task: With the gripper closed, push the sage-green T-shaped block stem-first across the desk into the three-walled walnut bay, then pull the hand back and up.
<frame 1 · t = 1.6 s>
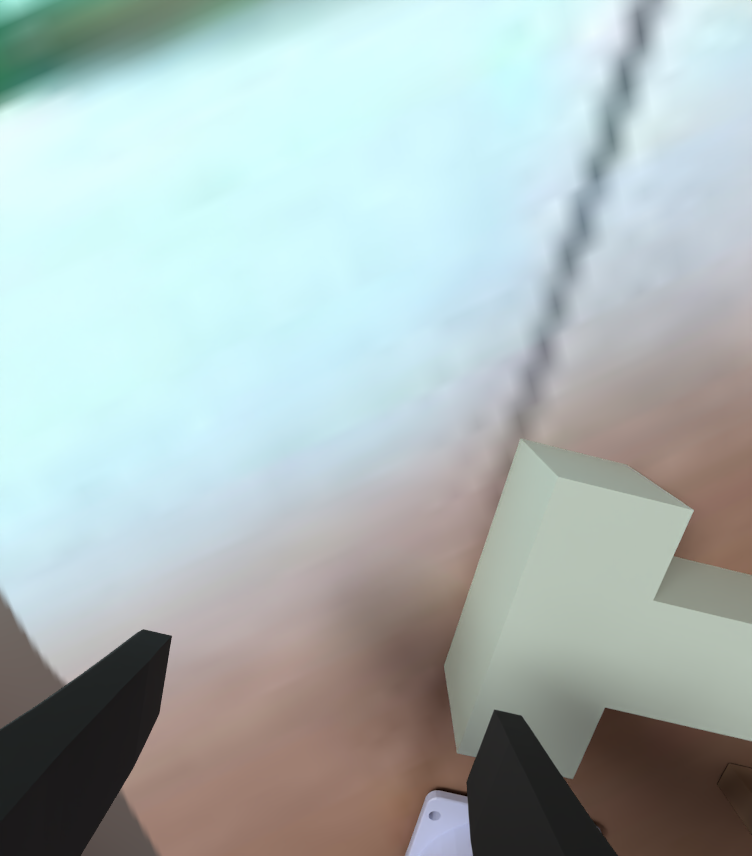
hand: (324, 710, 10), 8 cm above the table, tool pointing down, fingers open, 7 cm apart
t block: (628, 594, 19), on the table
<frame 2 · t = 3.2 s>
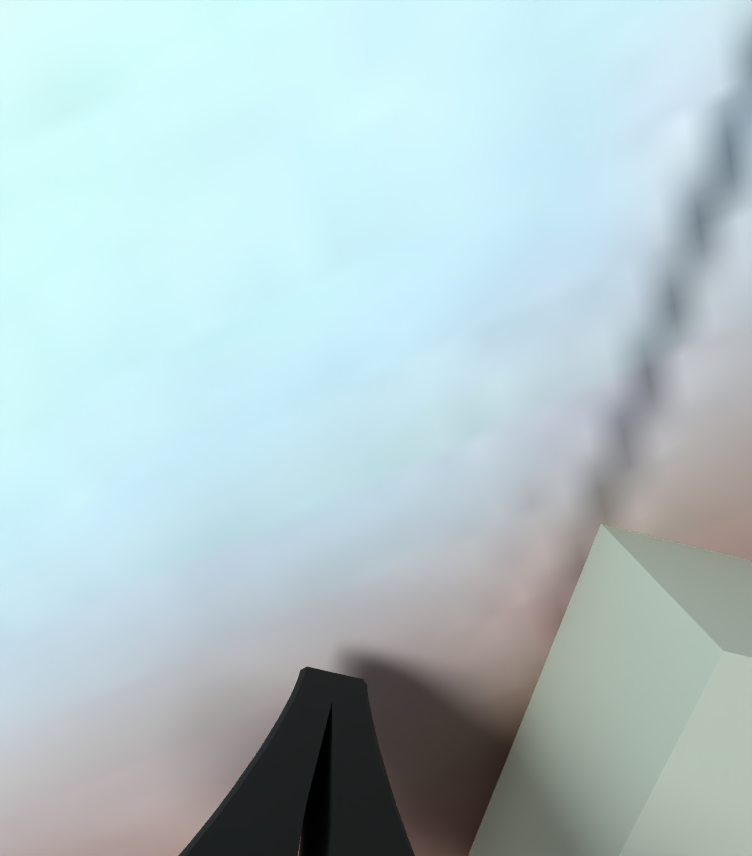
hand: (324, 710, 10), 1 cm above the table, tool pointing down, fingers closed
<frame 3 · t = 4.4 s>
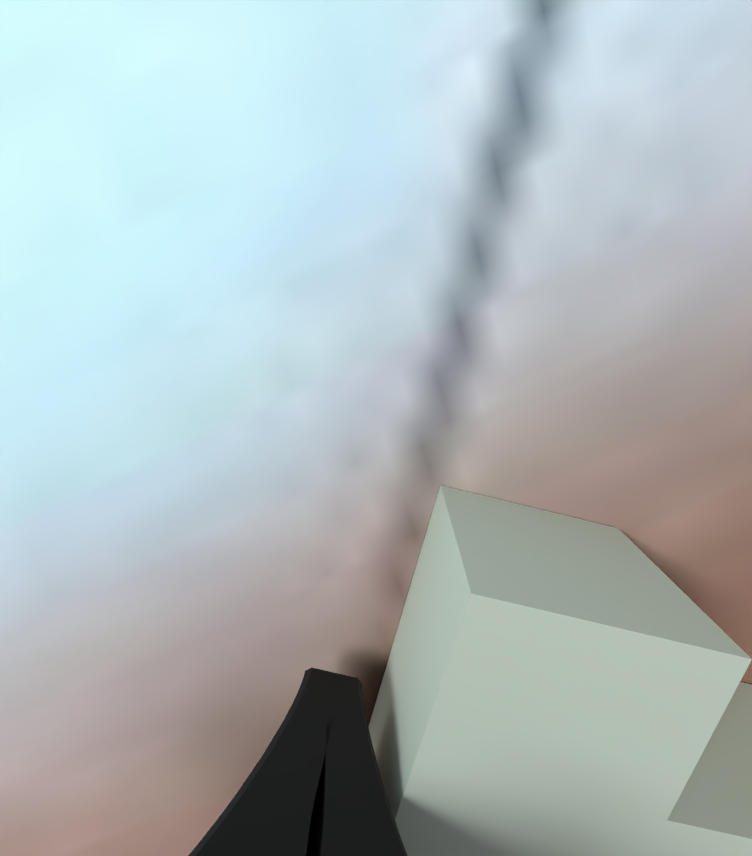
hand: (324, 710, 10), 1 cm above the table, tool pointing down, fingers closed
t block: (621, 728, 12), on the table, touching gripper
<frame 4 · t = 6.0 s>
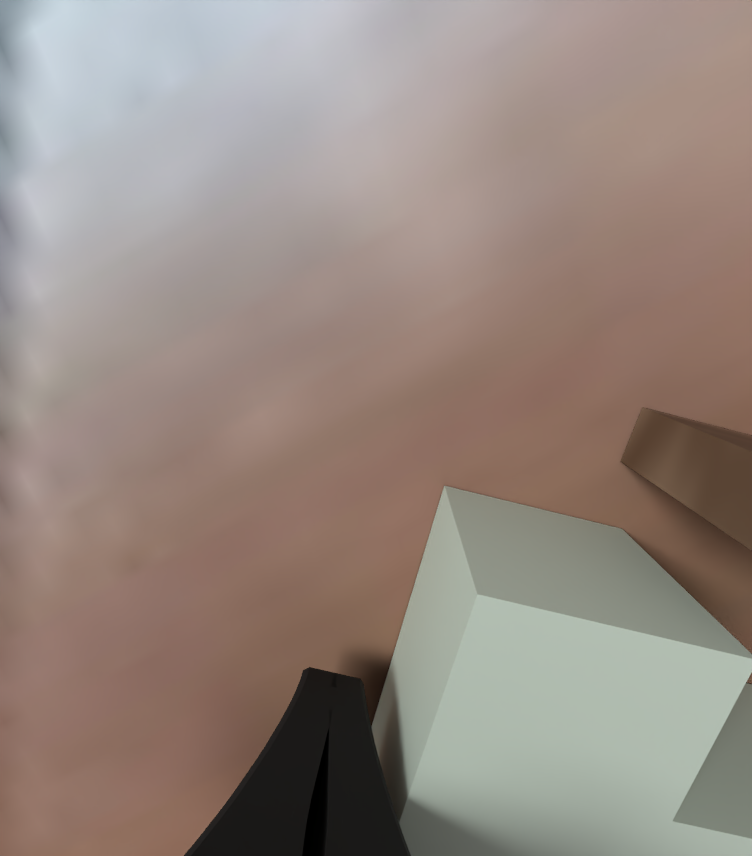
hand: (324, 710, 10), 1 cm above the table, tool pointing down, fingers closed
t block: (624, 728, 12), on the table, touching gripper
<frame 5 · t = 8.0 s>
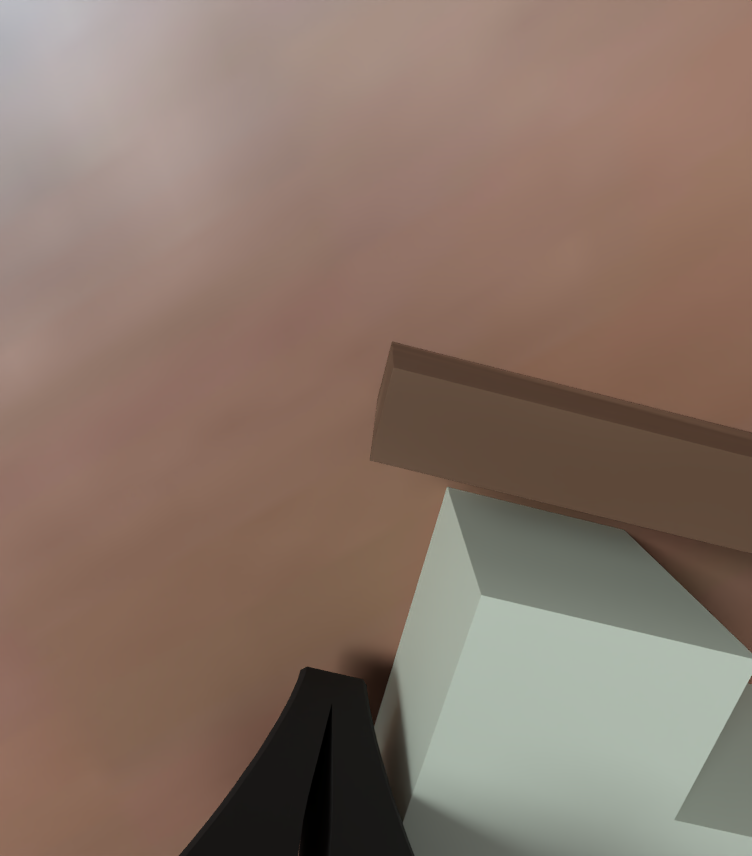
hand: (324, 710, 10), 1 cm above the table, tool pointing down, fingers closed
bay: (591, 722, 12), on the table
t block: (626, 728, 12), on the table, touching gripper
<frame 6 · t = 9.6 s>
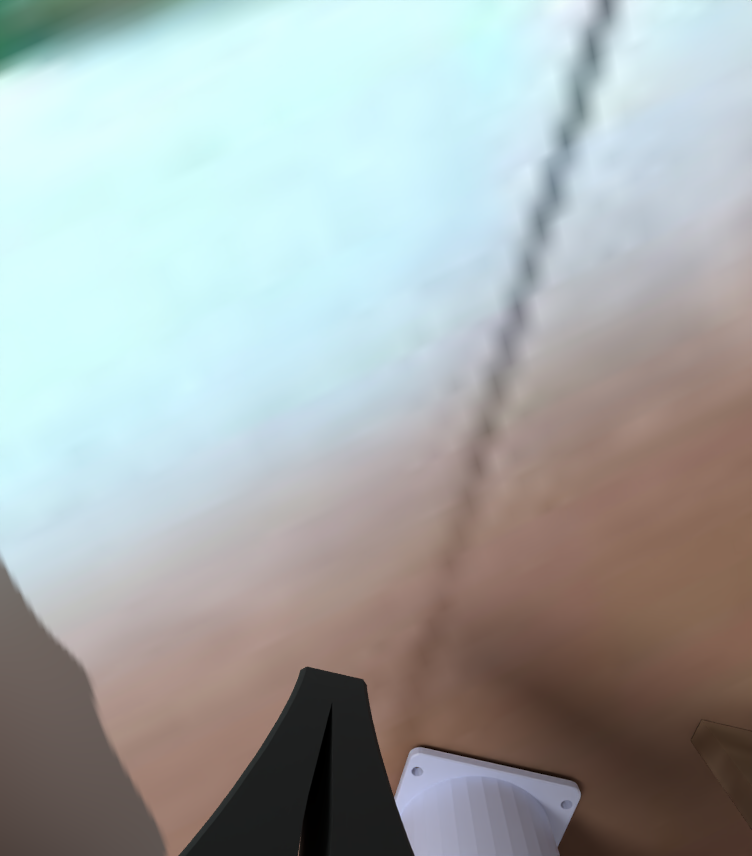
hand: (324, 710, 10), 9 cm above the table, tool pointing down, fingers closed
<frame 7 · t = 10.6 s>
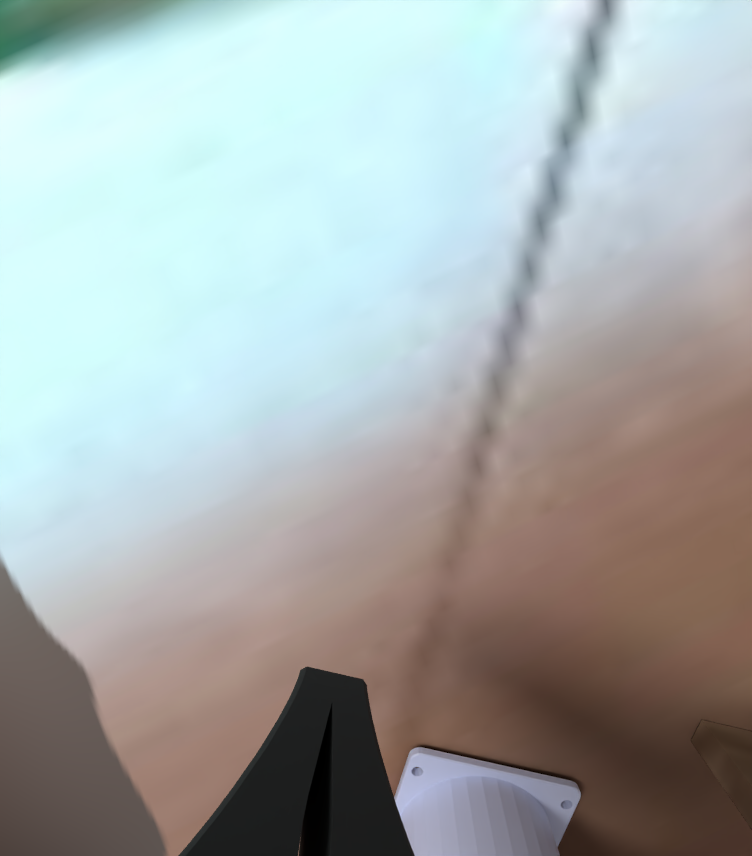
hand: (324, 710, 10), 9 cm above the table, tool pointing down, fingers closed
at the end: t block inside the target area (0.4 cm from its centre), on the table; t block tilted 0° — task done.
